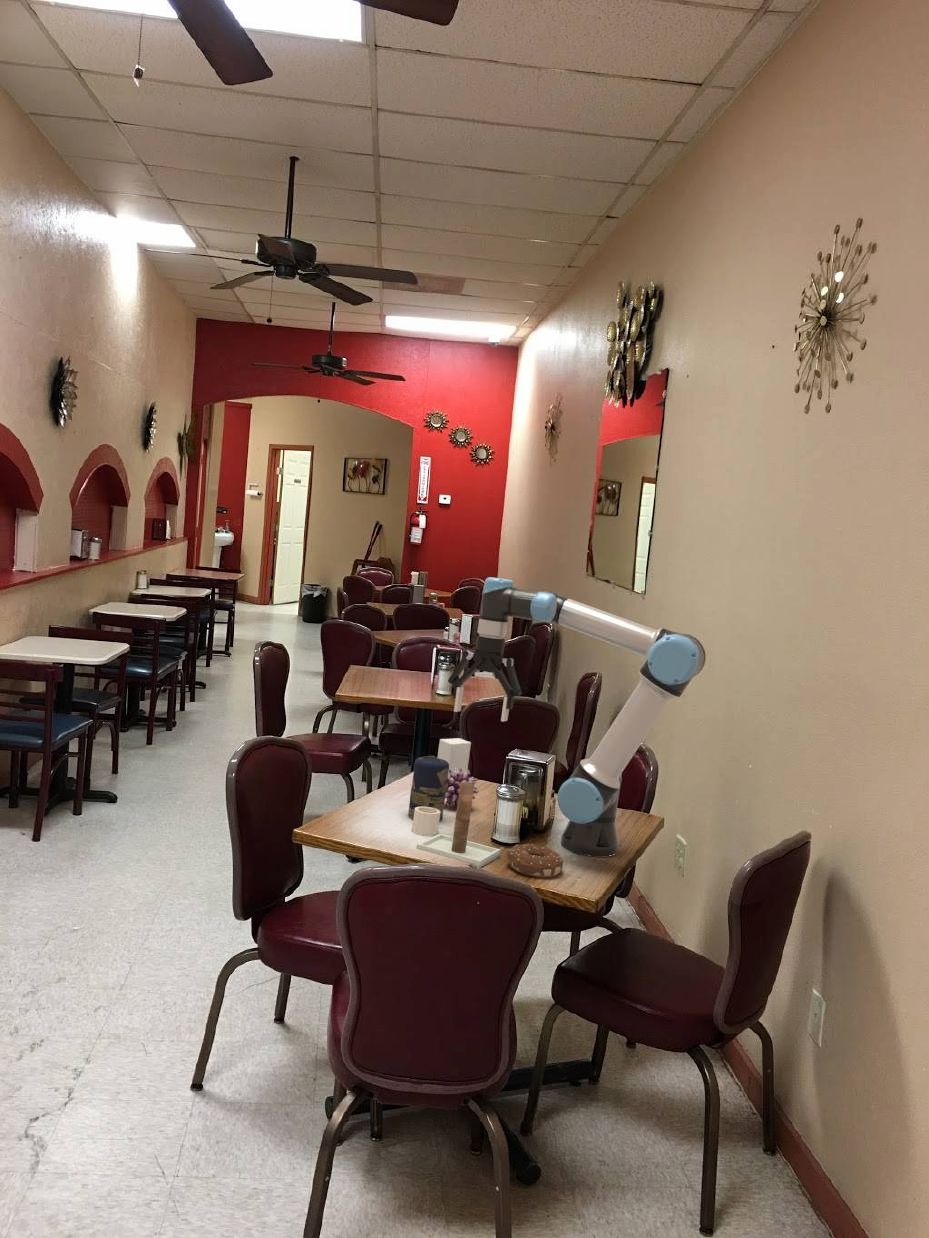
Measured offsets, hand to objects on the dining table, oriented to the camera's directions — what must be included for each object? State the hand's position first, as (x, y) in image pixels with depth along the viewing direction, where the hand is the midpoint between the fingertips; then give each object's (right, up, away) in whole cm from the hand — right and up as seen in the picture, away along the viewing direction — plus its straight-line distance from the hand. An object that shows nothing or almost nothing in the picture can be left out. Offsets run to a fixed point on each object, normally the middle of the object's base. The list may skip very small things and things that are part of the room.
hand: (480, 716), depth 267 cm
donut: (+12, -36, -21) cm, 43 cm away
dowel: (-6, -32, -17) cm, 36 cm away
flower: (-7, -30, +27) cm, 41 cm away
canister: (-15, -30, +9) cm, 35 cm away
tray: (-6, -32, -17) cm, 37 cm away
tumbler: (-15, -30, -4) cm, 34 cm away
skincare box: (-9, -28, +49) cm, 57 cm away
